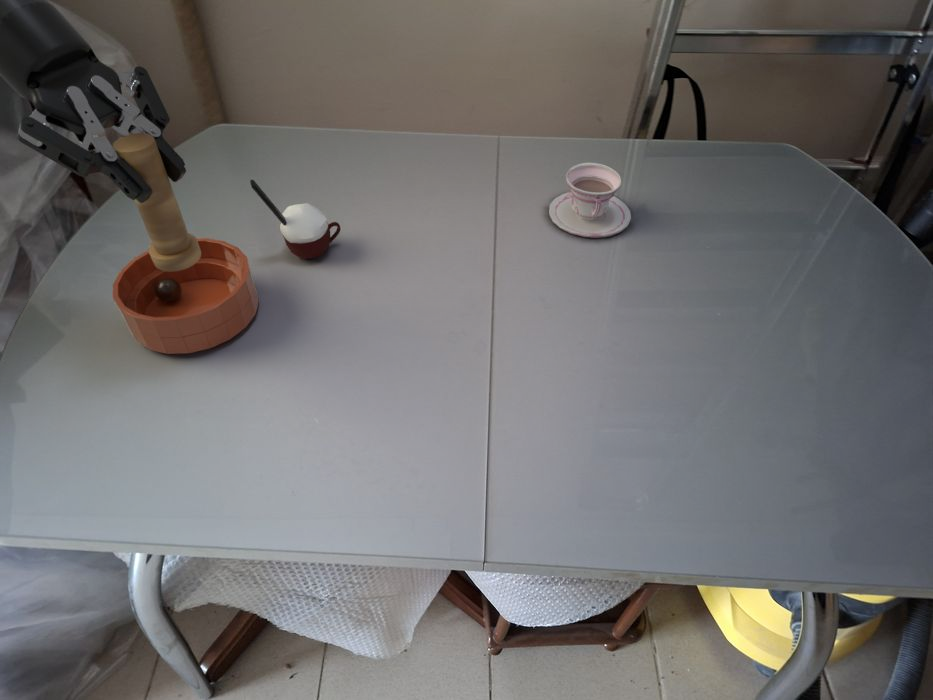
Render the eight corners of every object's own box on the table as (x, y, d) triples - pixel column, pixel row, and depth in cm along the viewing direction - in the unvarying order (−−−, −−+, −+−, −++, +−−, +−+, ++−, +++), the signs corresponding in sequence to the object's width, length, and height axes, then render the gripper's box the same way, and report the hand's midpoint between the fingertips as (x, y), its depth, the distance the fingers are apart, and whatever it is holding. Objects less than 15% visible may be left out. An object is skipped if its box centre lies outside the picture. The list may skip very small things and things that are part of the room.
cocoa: (344, 238, 92) (332, 161, 84) (337, 266, 88) (324, 187, 79) (277, 237, 92) (258, 160, 84) (267, 265, 88) (246, 186, 80)
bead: (178, 309, 82) (153, 304, 79) (173, 294, 83) (149, 289, 81) (187, 291, 80) (162, 286, 78) (182, 276, 82) (158, 270, 80)
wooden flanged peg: (163, 277, 66) (115, 160, 57) (146, 255, 69) (98, 140, 60) (208, 259, 69) (169, 143, 59) (190, 239, 71) (150, 125, 62)
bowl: (158, 378, 74) (140, 340, 69) (113, 307, 82) (94, 269, 78) (281, 321, 80) (271, 283, 76) (228, 261, 89) (216, 224, 84)
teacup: (543, 194, 101) (547, 157, 96) (620, 192, 101) (627, 155, 97) (554, 240, 92) (559, 202, 88) (639, 238, 93) (647, 200, 88)
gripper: (-59, 28, 50) (115, 206, 55) (92, -21, 59) (231, 135, 64) (-64, 83, 55) (95, 241, 60) (76, 31, 64) (204, 171, 69)
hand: (164, 186), depth 62 cm, fingers closed on wooden flanged peg, 3 cm apart
